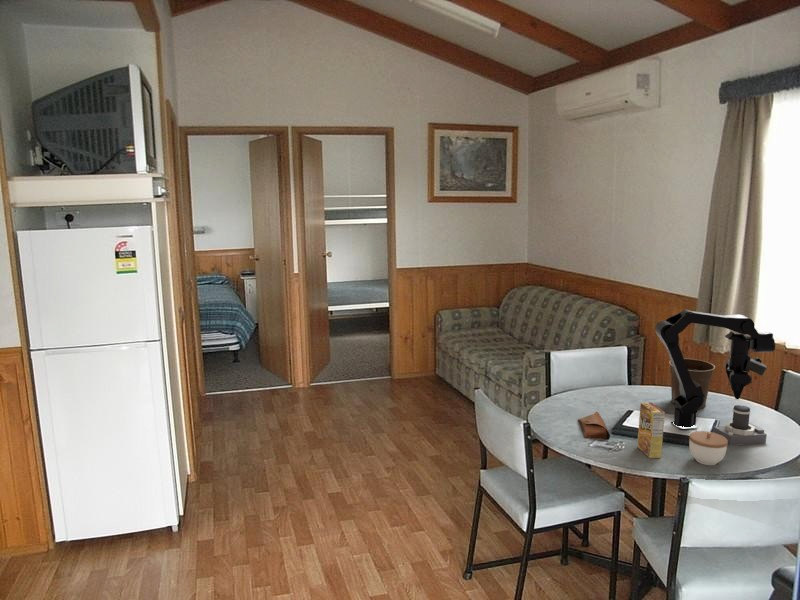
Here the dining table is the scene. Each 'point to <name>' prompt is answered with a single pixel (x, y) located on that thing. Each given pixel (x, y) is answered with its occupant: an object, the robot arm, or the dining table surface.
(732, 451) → the dining table surface
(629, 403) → the dining table surface
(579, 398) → the dining table surface
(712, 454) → the lidded jar
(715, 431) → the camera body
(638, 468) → the dining table surface
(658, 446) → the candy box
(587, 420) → the sunglasses case
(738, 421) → the lens
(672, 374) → the plant pot
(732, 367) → the robot arm
